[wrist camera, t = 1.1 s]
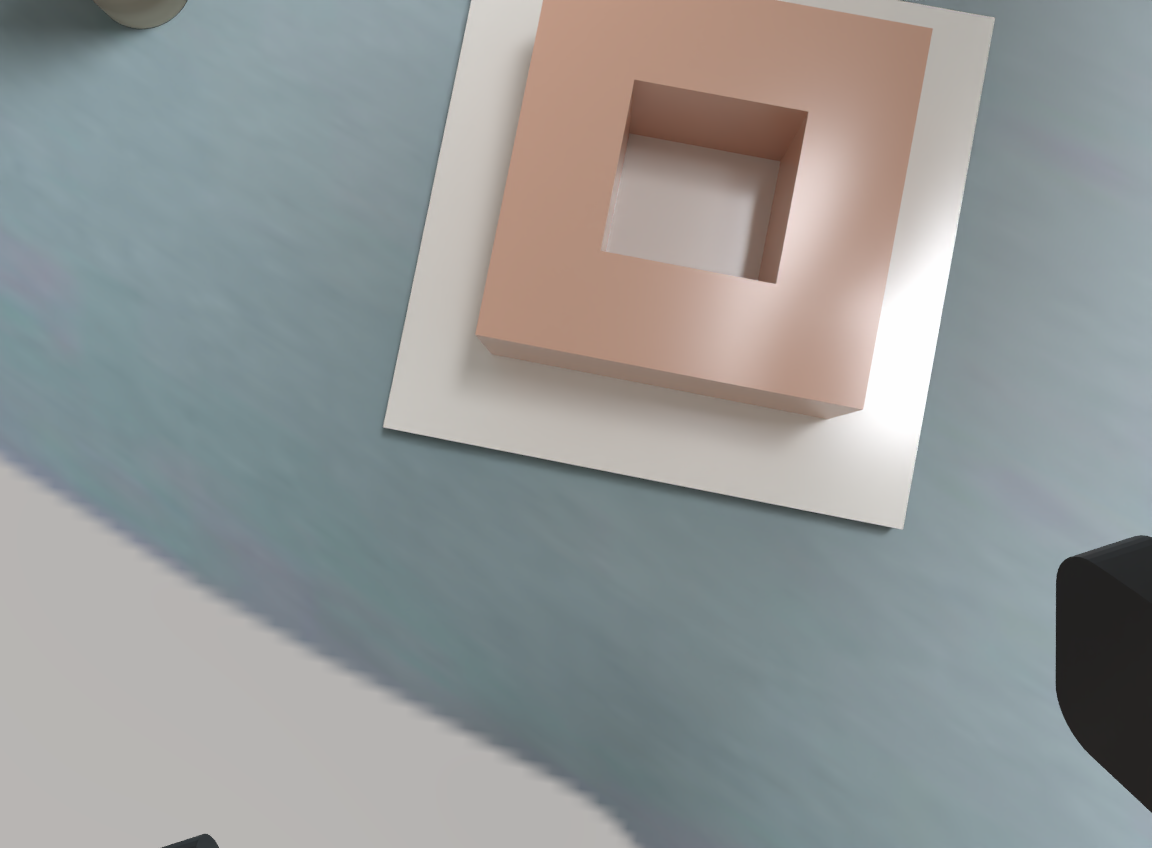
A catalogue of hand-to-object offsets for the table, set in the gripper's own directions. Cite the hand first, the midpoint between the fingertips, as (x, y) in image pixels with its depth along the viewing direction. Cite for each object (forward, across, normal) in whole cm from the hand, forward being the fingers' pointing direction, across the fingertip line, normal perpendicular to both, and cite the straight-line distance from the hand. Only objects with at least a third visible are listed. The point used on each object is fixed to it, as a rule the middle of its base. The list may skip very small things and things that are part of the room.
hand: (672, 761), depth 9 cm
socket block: (+25, -9, +2) cm, 27 cm away
